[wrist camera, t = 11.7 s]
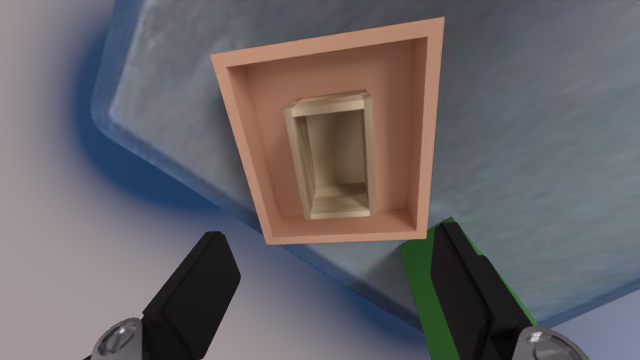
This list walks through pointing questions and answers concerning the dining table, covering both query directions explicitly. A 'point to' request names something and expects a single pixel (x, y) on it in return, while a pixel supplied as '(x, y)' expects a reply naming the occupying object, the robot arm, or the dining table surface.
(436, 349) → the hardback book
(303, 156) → the pine crate
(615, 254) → the dining table surface
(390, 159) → the terracotta crate
